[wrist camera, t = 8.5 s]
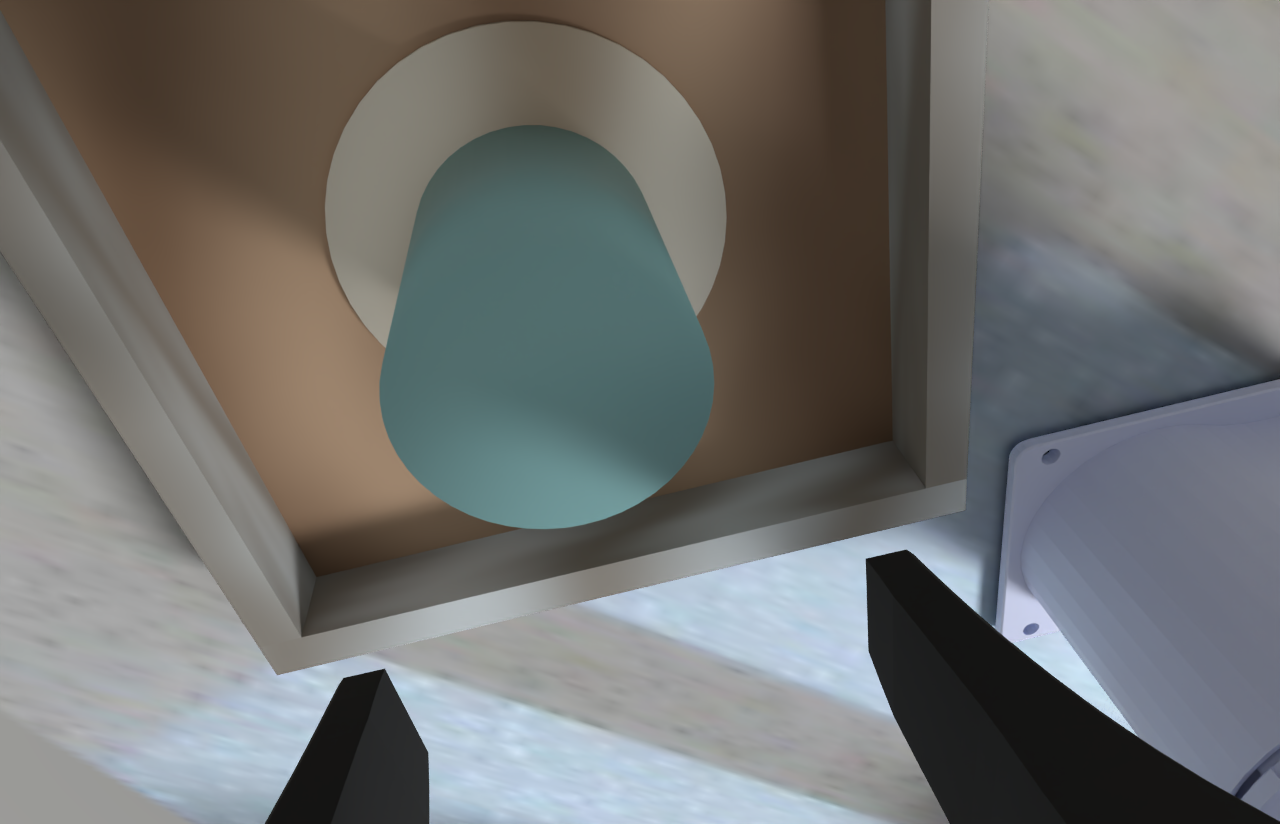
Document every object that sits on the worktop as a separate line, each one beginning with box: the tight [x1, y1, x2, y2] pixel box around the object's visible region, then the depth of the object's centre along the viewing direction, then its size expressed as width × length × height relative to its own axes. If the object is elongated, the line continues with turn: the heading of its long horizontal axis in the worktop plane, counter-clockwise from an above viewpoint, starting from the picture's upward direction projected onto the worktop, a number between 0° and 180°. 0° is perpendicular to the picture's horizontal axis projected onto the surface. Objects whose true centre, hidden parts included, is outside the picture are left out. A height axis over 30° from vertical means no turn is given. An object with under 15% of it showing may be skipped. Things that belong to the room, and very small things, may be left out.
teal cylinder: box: [379, 125, 714, 529], centre depth 15 cm, size 5×5×6 cm
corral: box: [0, 0, 989, 675], centre depth 17 cm, size 17×17×3 cm
